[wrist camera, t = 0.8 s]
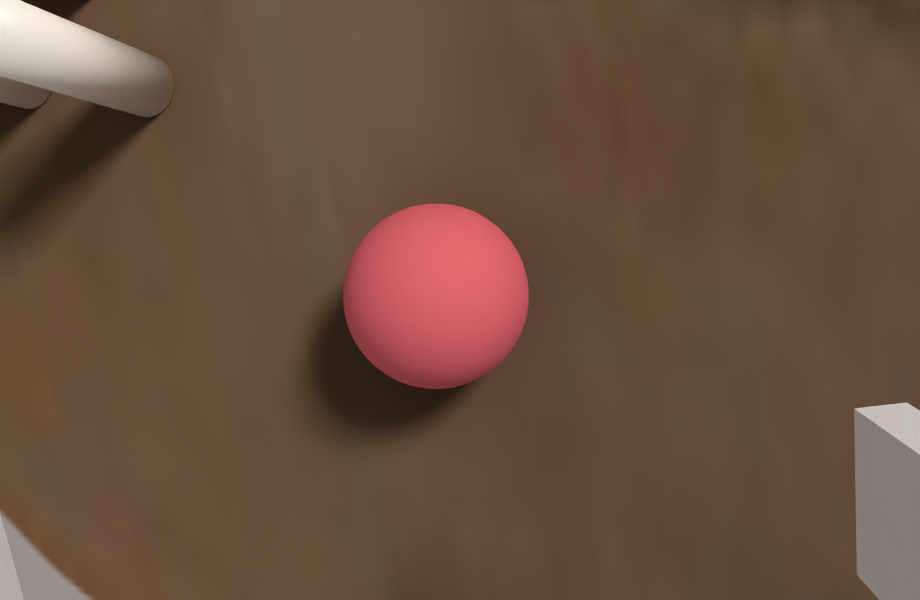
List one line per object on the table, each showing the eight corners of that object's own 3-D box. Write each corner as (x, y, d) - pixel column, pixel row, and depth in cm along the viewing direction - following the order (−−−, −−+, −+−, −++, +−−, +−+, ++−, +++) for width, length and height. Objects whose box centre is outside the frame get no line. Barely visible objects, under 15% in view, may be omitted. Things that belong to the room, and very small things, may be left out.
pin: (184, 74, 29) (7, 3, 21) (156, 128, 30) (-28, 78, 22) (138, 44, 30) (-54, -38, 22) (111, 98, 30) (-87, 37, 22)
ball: (572, 267, 26) (553, 269, 21) (482, 405, 27) (440, 445, 22) (433, 178, 27) (377, 156, 22) (351, 315, 28) (276, 330, 23)
